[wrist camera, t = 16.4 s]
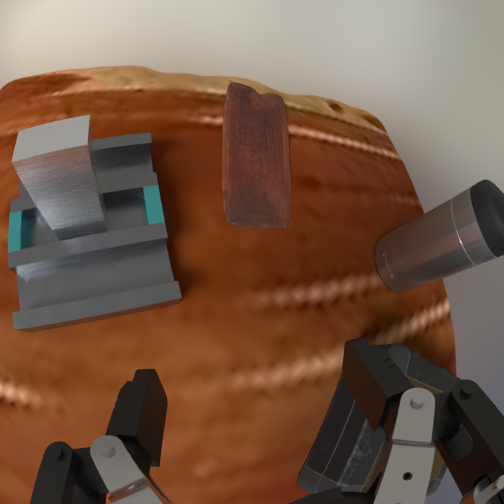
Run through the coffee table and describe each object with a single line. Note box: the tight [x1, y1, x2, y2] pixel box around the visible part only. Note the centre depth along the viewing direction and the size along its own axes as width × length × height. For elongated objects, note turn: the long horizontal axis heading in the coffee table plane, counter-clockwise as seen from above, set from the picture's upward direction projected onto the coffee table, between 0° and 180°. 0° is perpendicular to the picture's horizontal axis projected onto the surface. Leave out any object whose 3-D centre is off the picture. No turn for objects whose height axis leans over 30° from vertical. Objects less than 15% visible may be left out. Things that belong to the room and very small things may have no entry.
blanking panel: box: [12, 115, 108, 241], centre depth 17 cm, size 5×2×13 cm, turn 107°
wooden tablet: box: [222, 82, 292, 230], centre depth 36 cm, size 27×10×2 cm, turn 179°
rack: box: [8, 133, 182, 332], centre depth 22 cm, size 16×18×4 cm
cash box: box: [297, 343, 461, 496], centre depth 26 cm, size 25×20×8 cm
